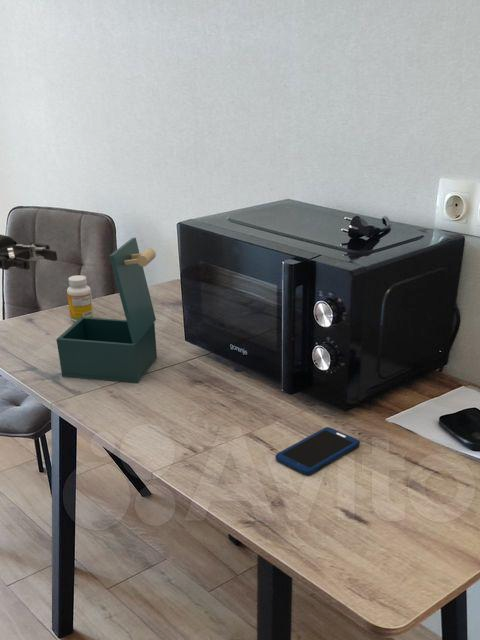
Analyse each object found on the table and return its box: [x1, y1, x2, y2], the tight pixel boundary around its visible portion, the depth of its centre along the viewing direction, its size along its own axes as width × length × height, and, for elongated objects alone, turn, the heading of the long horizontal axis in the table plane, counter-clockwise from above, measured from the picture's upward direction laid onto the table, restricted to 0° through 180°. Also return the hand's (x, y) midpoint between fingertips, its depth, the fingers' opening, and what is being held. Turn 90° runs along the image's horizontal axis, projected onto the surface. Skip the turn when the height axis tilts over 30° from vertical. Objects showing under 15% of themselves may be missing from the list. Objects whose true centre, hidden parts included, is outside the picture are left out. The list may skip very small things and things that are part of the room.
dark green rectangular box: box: [55, 317, 158, 384], centre depth 141 cm, size 16×13×8 cm
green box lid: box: [108, 237, 157, 343], centre depth 133 cm, size 16×13×5 cm
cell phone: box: [274, 426, 361, 475], centre depth 115 cm, size 7×14×1 cm, turn 137°
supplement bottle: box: [66, 274, 95, 323], centre depth 163 cm, size 5×5×10 cm
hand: (42, 260), depth 163 cm, fingers open, 8 cm apart
